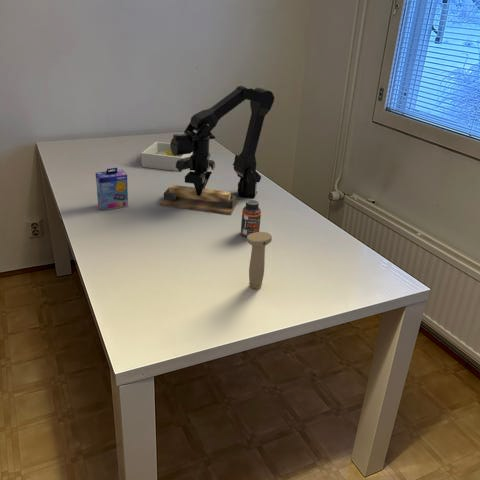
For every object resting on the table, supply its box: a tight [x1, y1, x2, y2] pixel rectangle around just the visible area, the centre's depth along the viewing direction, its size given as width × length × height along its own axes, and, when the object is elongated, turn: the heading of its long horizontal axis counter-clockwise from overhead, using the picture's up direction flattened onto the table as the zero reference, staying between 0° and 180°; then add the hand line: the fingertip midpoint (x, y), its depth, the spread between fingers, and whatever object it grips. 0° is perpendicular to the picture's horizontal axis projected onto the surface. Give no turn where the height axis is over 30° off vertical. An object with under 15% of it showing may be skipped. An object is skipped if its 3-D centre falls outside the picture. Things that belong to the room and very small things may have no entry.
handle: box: [246, 231, 273, 290], centre depth 127 cm, size 5×6×15 cm
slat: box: [168, 184, 232, 202], centre depth 176 cm, size 22×3×3 cm, turn 79°
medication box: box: [154, 150, 175, 156], centre depth 217 cm, size 12×3×4 cm, turn 136°
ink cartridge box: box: [95, 167, 129, 211], centre depth 169 cm, size 10×6×14 cm, turn 120°
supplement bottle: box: [240, 199, 262, 238], centre depth 156 cm, size 6×6×11 cm
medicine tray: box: [140, 141, 193, 172], centre depth 215 cm, size 18×18×6 cm
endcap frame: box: [159, 187, 239, 215], centre depth 177 cm, size 26×12×4 cm, turn 79°
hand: (200, 193), depth 176 cm, fingers closed on slat, 3 cm apart
